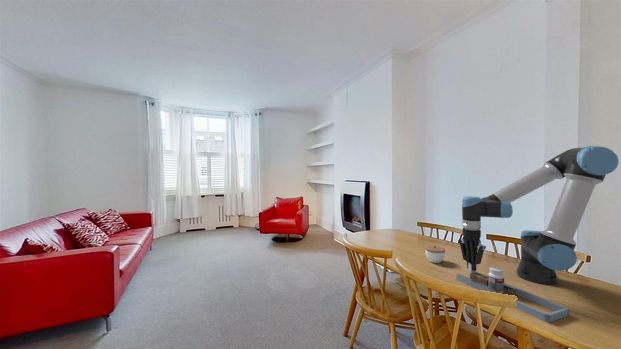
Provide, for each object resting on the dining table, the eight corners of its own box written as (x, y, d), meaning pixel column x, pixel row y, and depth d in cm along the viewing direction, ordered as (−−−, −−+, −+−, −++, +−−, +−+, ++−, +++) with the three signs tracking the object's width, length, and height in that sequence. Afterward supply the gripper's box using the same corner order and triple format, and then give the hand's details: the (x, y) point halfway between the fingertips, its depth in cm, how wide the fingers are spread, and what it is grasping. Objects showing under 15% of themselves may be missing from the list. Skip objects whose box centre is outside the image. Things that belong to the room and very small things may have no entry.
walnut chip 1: (469, 281, 120) (469, 273, 120) (476, 280, 121) (476, 272, 121) (477, 285, 116) (477, 276, 116) (484, 283, 118) (484, 275, 117)
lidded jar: (448, 265, 141) (447, 248, 140) (427, 264, 143) (427, 247, 142) (442, 258, 151) (441, 243, 151) (423, 257, 153) (423, 242, 153)
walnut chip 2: (477, 285, 116) (477, 276, 116) (484, 283, 118) (484, 275, 117) (486, 289, 112) (486, 280, 112) (492, 287, 114) (492, 278, 114)
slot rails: (456, 279, 123) (456, 274, 123) (474, 275, 126) (474, 270, 126) (498, 299, 104) (498, 293, 104) (517, 293, 108) (517, 288, 107)
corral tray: (498, 299, 104) (498, 293, 104) (517, 294, 107) (517, 288, 107) (548, 322, 88) (548, 315, 87) (569, 315, 91) (569, 309, 91)
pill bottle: (499, 295, 107) (499, 272, 106) (485, 289, 112) (485, 267, 112) (507, 292, 109) (507, 270, 109) (493, 287, 114) (493, 265, 114)
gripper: (454, 226, 126) (454, 272, 126) (478, 232, 113) (478, 283, 114) (465, 224, 128) (465, 270, 129) (490, 230, 116) (490, 280, 116)
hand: (471, 276), depth 121 cm, fingers closed
